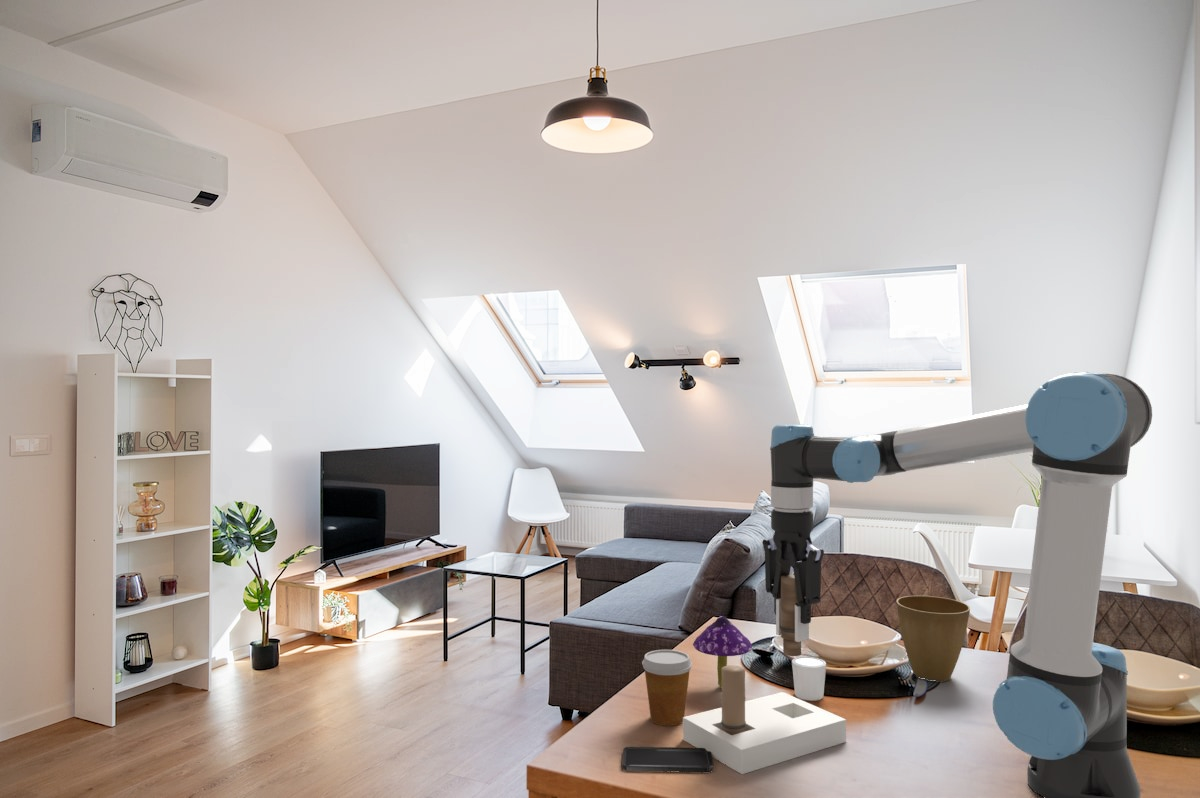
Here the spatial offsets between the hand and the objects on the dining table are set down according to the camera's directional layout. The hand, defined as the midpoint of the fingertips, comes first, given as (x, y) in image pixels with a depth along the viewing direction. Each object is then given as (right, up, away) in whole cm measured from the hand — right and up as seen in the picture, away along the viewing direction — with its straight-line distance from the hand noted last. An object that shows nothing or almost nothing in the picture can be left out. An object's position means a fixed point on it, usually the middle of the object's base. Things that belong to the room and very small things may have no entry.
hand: (792, 636), depth 151 cm
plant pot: (+37, -17, +29) cm, 51 cm away
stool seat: (-6, -18, -4) cm, 19 cm away
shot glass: (+8, -18, +19) cm, 27 cm away
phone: (-24, -18, -12) cm, 32 cm away
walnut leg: (0, -3, 0) cm, 3 cm away
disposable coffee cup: (-22, -18, +6) cm, 29 cm away
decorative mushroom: (-9, -18, +24) cm, 31 cm away
